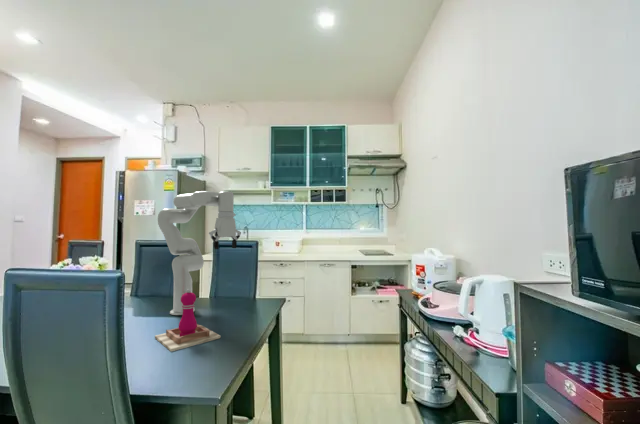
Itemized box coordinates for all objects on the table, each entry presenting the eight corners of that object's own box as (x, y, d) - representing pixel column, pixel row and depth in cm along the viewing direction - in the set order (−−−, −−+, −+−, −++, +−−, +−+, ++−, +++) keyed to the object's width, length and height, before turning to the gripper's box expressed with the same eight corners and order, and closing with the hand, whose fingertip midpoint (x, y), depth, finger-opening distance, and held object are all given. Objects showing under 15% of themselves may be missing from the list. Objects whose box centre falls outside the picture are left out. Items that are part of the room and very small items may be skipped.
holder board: (154, 337, 130) (154, 330, 130) (201, 327, 144) (201, 320, 144) (170, 351, 115) (171, 343, 116) (220, 338, 129) (220, 330, 129)
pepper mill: (190, 340, 124) (191, 291, 125) (174, 339, 126) (175, 290, 127) (200, 334, 131) (201, 287, 132) (185, 332, 133) (186, 286, 134)
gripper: (237, 216, 165) (237, 247, 165) (206, 215, 153) (205, 249, 153) (244, 215, 160) (244, 248, 159) (213, 214, 148) (212, 249, 147)
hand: (225, 248), depth 156 cm, fingers open, 9 cm apart
